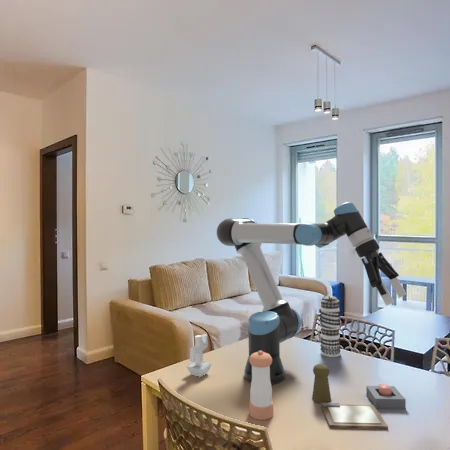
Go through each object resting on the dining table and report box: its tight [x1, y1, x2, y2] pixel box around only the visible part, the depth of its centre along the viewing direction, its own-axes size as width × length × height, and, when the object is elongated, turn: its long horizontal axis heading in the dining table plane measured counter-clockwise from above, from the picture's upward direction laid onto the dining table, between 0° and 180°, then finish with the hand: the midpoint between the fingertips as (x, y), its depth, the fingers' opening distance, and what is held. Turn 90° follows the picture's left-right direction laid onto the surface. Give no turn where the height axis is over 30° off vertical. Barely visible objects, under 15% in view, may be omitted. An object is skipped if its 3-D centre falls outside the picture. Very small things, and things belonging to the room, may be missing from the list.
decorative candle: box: [318, 295, 342, 358], centre depth 161 cm, size 9×9×25 cm
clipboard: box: [320, 402, 389, 430], centre depth 108 cm, size 16×12×1 cm
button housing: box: [365, 385, 407, 410], centre depth 117 cm, size 9×9×3 cm
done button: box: [378, 383, 392, 396], centre depth 117 cm, size 4×4×2 cm
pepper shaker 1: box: [248, 351, 274, 421], centre depth 111 cm, size 7×7×19 cm
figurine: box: [185, 333, 213, 378], centre depth 141 cm, size 7×9×15 cm
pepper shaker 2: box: [311, 363, 332, 404], centre depth 120 cm, size 6×6×11 cm
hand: (397, 299), depth 120 cm, fingers open, 13 cm apart
